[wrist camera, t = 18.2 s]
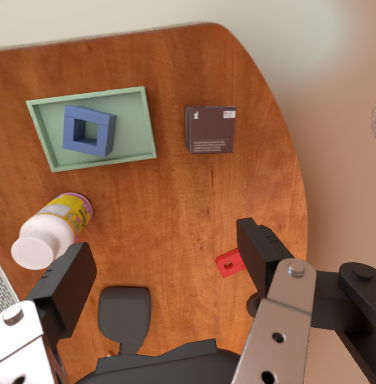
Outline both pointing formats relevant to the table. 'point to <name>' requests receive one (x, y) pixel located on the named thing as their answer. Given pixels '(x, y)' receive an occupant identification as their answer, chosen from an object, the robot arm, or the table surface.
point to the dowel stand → (253, 304)
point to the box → (210, 129)
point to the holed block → (76, 130)
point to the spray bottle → (125, 317)
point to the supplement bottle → (52, 231)
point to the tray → (96, 127)
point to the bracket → (235, 264)
